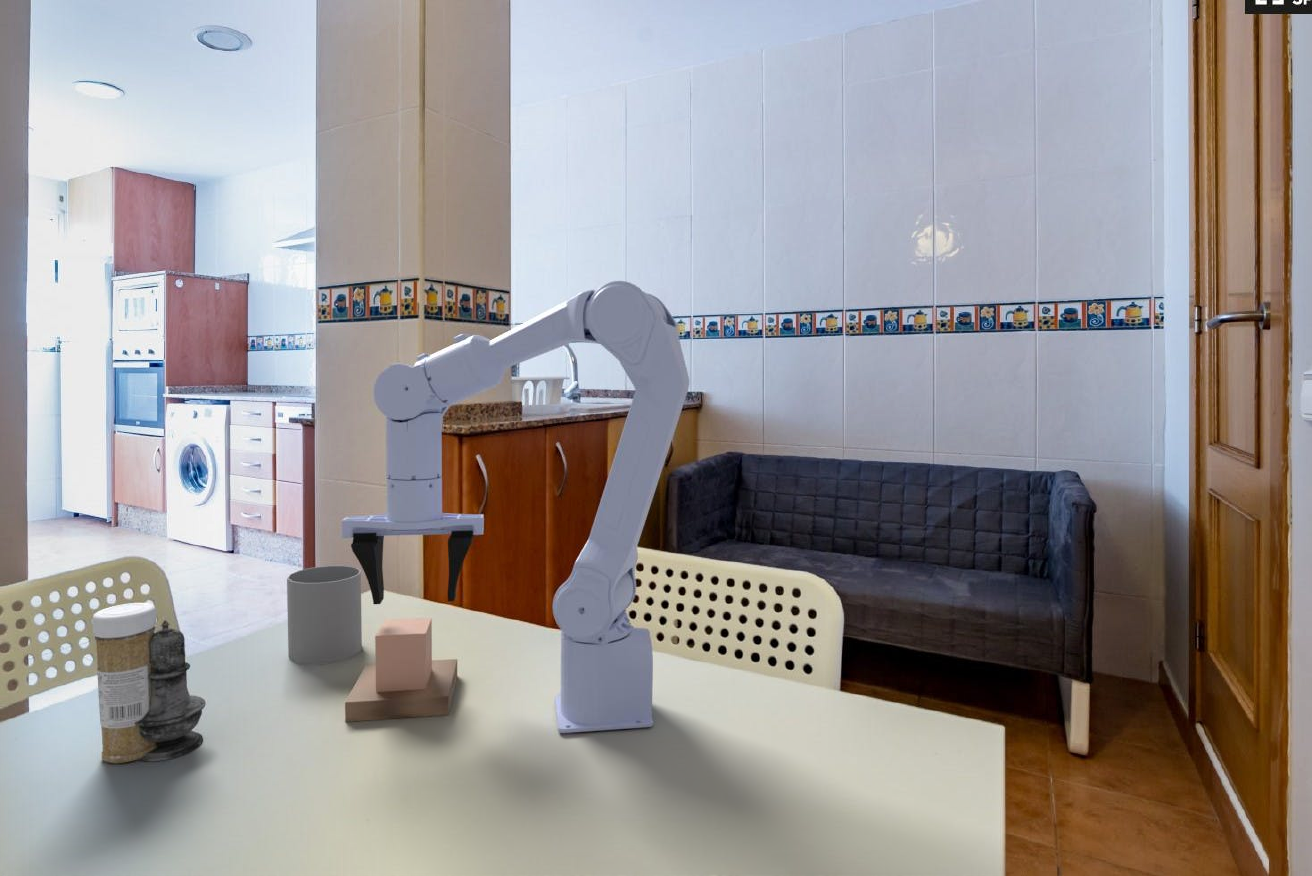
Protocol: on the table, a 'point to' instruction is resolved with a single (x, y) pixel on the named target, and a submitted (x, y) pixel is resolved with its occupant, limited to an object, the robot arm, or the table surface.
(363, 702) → the board
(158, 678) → the salt shaker
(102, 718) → the sprinkles bottle
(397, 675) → the block
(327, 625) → the cup
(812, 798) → the table surface
